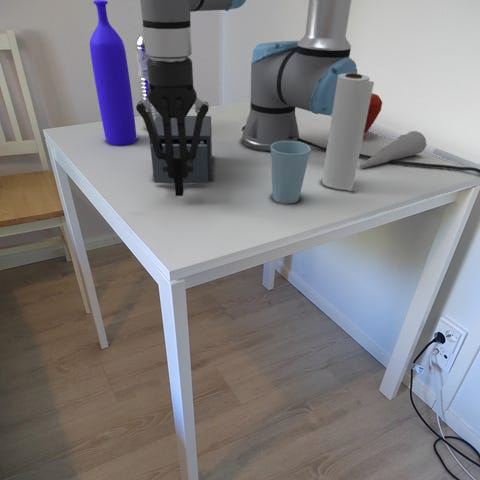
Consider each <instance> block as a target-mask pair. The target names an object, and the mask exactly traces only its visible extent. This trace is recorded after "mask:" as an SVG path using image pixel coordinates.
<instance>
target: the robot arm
mask: <svg viewBox="0 0 480 480" xmlns="http://www.w3.org/2000/svg"><path fill="white" fill-rule="evenodd" d="M139 1H140V3H139V4H140V11H141V19H142V23H143V26H142V31H143V32H144V41H145V50H146V54H147V55H148V56H150V58H149V59H148V61H147V69H148V78H149V91H148V94H147V98H146V99H144V100H143V101H141V100H139V101H138V102H137V104H136V106H135V108H136V112H138V114H139V115H140V117H141V118H142V120H143V119H144V120H143V123H144V122H145V125H146V128H147V130H146V131H147V133H148V138H149V137H150V139H151V142H152V145H153V148H154V151H155V154H156V157H157V158H158V159H163V160H165V161H166V162H167V169H168V176H169V178H174V183H173V184H174V196H175V197H183V196H184V191H185V190H184V189H185V188H184V183H183V178H187V176H188V163H187V162H188V160H191V159H195V158H196V153H197V148H198V143H199V138H200V133H201V128H202V122H203V119H204V117H205V116H207V114H208V111H209V109H210V108H209V107H210V105H209V104H210V103H208V102H207V101H204V100H202V99H200V98H199V97H198V95H197V91H196V90H195V87H194V70H193V60H192V59H191V58H190V56H191V55H192V53H193V49H192V27H191V25H192V23H191V12H192V13H193V12H202V11H203V12H206V11H208V12H209V11H211V12H212V11H225V12H229V10H234V9H239V8H241V7H242V6H244V4H245V3H246V2H247V0H139ZM351 4H352V0H308V4H307V5H308V6H307V15H306V25H305V32H304V35H303V37H302V38H300V40H282V41H271V42H270V41H269V42H263V43H258V44H256V45H255V46H254V47H253V49H252V57H251V62H250V107H249V108H250V109H249V113H248V116H247V119H246V122H245V125H244V126H242V127H241V132H242V144H243V145H245V146H246V147H248V148H250V149H252V150H257V151H261V152H271V145H272V144H273V143H275V142H279V141H297V142H301V143H305V144H307V145H308V146H311V147H313V148H316V149H318V150H322V151H325V152H326V151H327V147H325V146H321V145H319V144H316V143H314V142H311V141H308V140H307V139H302V138H300V131H299V126H298V122H297V116H296V108H297V109H301V110H304V111H307V112H311V113H312V114H315V115H318V114H319V115H324V116H332V112H333V105H334V98H335V92H336V85H337V78H338V75H340V74H345V73H352V74H358V68H357V63H356V62H355V60H353V59H352V58H350V55H351V51H352V50H351V49H352V45H351V43H350V42H349V40H348V38H347V36H346V35H347V31H348V23H349V17H350V13H351V12H350V11H351ZM150 104H152V105H153V107H154V108H155V109H156V110H157V112H158V113H159V114H160V115H161V116H162V121H163V128H164V139H165V150H166V151H164V150H163V147H162V144H161V141H160V138H159V135H158V132H157V129H156V126H155V123H154V120H153V117H152V114H151V105H150ZM193 106H195V108H194V111H195V113H196V115H195V116H196V122H195V127H194V133H193V138H192V143H191V149H190V150H189V151H187V144H186V128H185V116H188V114H189V112H190V111H191V109H192V108H193ZM171 118H176V119H177V125H178V137H179V151H180V158H174V152H173V140H172V127H171ZM150 139H149V140H150ZM372 156H373V155H368V154H364V153H360V154H359V158H364V159H369V158H370V157H372ZM388 163H389V164H397V165H405V166H406V165H407V166H413V167H414V166H415V167H424V168H438V169H449V170H456V171H473V172H476V173H478V174H480V168H477V167H474V166H473V167H470V166H458V165H457V166H456V165H450V164H438V163H437V164H436V163H434V164H433V163H426V162H415V161H405V160H399V159H397V160H390V161H389V162H388Z"/></svg>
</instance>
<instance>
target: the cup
mask: <svg viewBox="0 0 480 480" xmlns="http://www.w3.org/2000/svg"><path fill="white" fill-rule="evenodd" d="M310 154H311V147H310V145H308V144H305V143H303V142H300V141H299V142H297V141H279V142H275V143H273V144H272V145H271V151H270V161H271V166H270V167H271V187H272V189H271V190H272V191H271V192H272V193H271V194H272V200H274V201H275V202H277V203H279V204H285V205H286V204H288V205H289V204H294V203H295V204H296V202H298V201H299V200H300V197H301V192H302V189H303V188H302V187H303V183H304V178H305V176H306V175H305V174H306V170H307V166H308V163H309V158H310Z"/></svg>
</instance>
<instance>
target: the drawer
mask: <svg viewBox="0 0 480 480" xmlns="http://www.w3.org/2000/svg"><path fill="white" fill-rule="evenodd" d="M172 140H173V152H174V158H180V151H179V139H172ZM160 141H161V144H162V147H163V150H164V151H166V150H165V139H160ZM191 143H192V140H186V144H187V151H189V150H190V149H191ZM149 146H150V147H151V148H150V147H149V148H150V156H152V157H151V165H153V166H152V175H153V174H154V175H153V181H154V182H153V183H154V184H174V178H169V176H168V169H167V162H166V161H165V160H163V159H158V158H157V157H156V154H155V151H154V148H153V145H152V144H151V145H150V144H149ZM187 163H188V176H187V178H183V184H209V181H208V164H207V144H206V140H199V143H198V148H197V153H196V158H195V159H191V160H188V162H187Z"/></svg>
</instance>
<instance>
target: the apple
mask: <svg viewBox="0 0 480 480" xmlns="http://www.w3.org/2000/svg"><path fill="white" fill-rule="evenodd" d="M382 106H383V101H382V99H381V97H380V96H379V95H378V94H377V93H373V92H372V95H371V100H370V105H369V109H368V114H367V119H366V124H365V129H364V134H363V135H365V134H366V133H367V132H369V130H370V128H371V127H372V125H373V124H374V123H375V122H376V120H377V118H378V116H379V114H380V113H381V111H382Z"/></svg>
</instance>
